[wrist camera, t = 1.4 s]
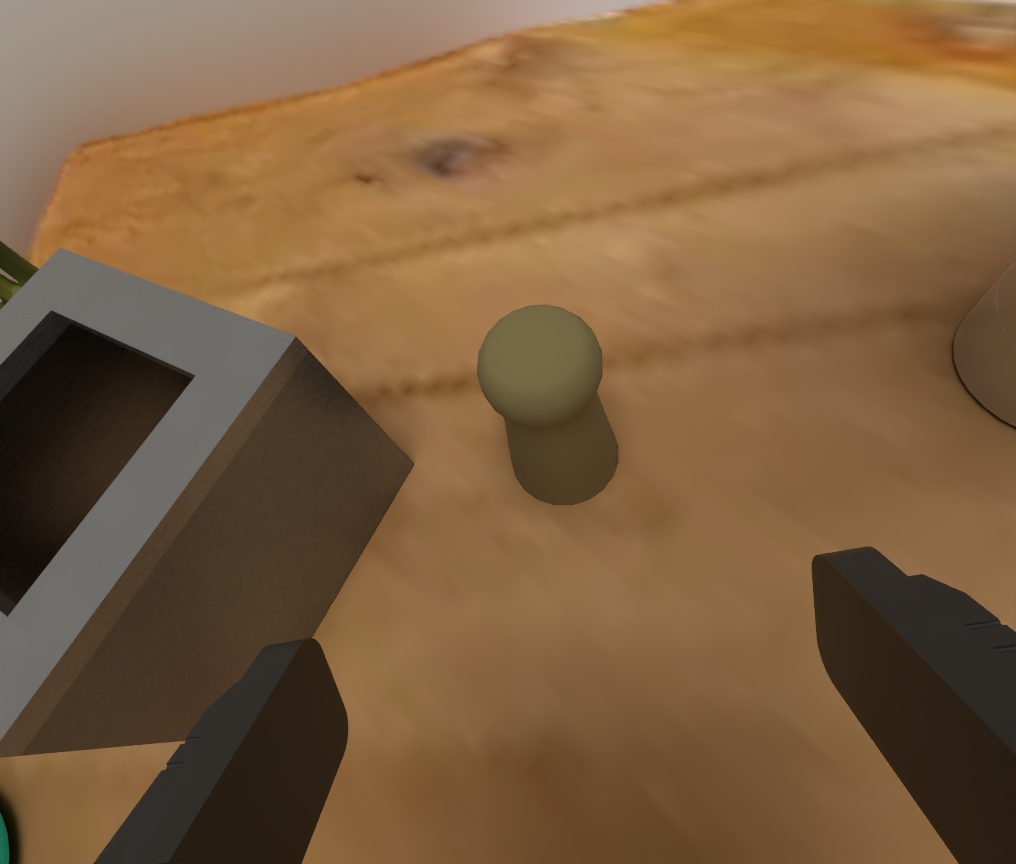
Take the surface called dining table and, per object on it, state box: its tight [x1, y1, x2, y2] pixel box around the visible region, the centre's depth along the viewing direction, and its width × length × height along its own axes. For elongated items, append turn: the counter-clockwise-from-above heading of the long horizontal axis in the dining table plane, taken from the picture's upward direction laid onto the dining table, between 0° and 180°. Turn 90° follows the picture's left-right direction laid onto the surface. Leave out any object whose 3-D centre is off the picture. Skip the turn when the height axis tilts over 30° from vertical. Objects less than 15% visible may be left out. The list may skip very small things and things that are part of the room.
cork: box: [477, 305, 618, 505], centre depth 26 cm, size 6×6×11 cm
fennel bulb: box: [0, 241, 39, 310], centre depth 36 cm, size 6×5×12 cm
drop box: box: [0, 248, 414, 757], centre depth 27 cm, size 16×16×13 cm
